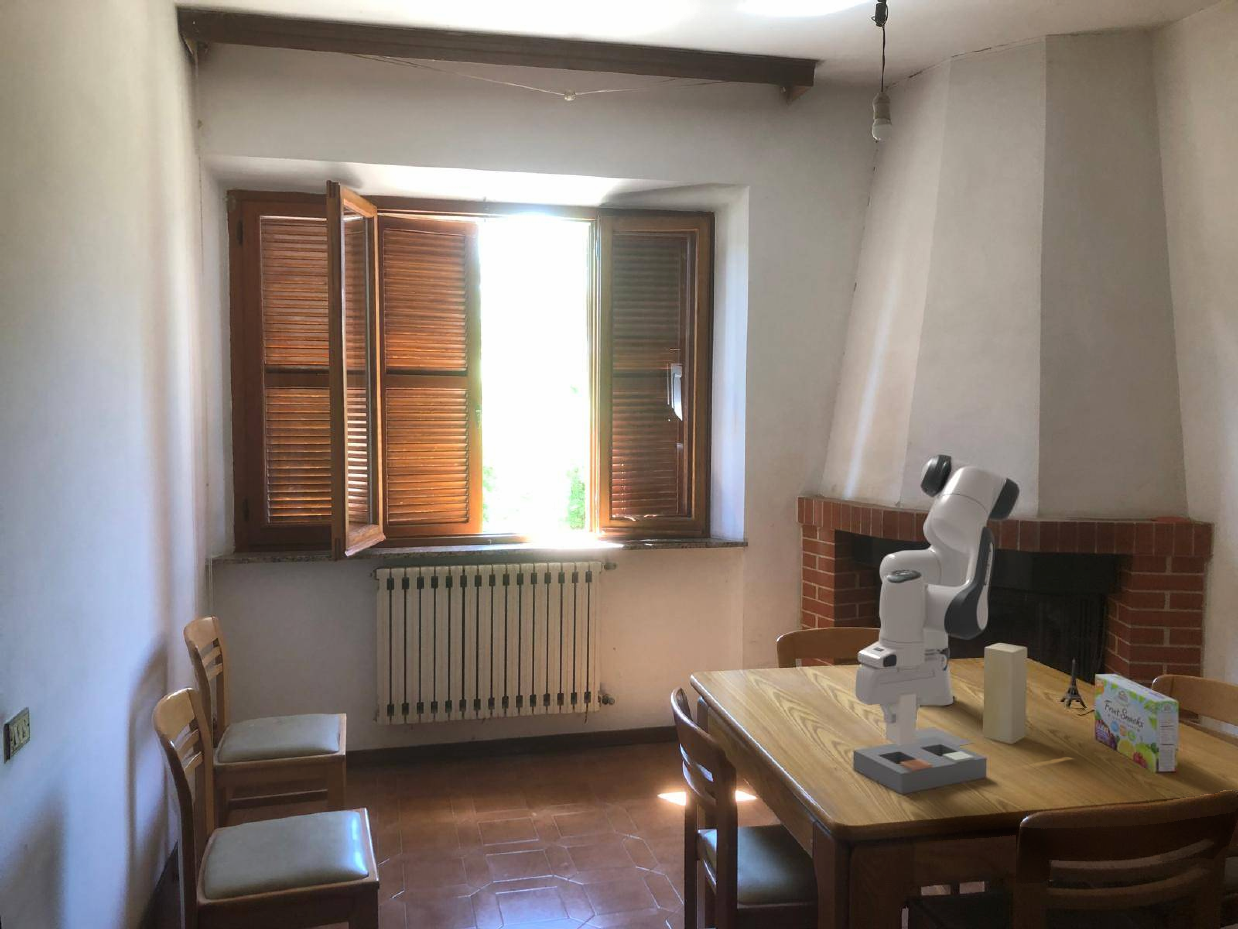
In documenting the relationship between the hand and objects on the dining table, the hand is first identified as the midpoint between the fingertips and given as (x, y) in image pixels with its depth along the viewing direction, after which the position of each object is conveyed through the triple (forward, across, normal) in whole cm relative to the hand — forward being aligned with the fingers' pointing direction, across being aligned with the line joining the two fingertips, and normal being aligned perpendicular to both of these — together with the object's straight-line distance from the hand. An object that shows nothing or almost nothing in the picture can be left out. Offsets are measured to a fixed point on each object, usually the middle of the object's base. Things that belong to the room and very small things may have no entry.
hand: (900, 721), depth 182 cm
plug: (+4, 0, 0) cm, 4 cm away
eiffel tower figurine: (+12, -76, -20) cm, 80 cm away
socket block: (+11, -5, 0) cm, 13 cm away
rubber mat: (+11, -22, -14) cm, 29 cm away
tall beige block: (+12, -38, -9) cm, 41 cm away
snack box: (+12, -56, +10) cm, 58 cm away
